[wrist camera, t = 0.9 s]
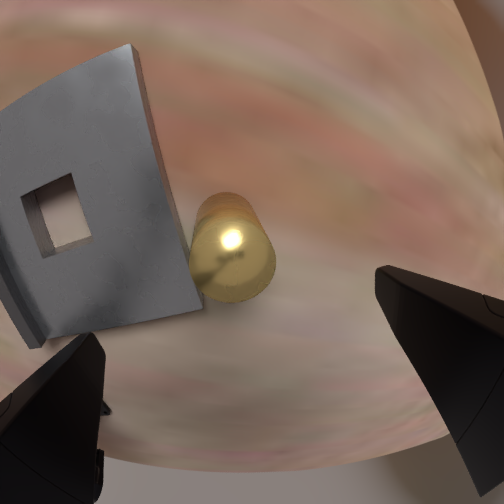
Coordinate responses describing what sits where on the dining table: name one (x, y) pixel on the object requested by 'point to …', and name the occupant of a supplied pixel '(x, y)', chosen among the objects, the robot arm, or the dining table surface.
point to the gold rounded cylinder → (230, 250)
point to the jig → (90, 206)
